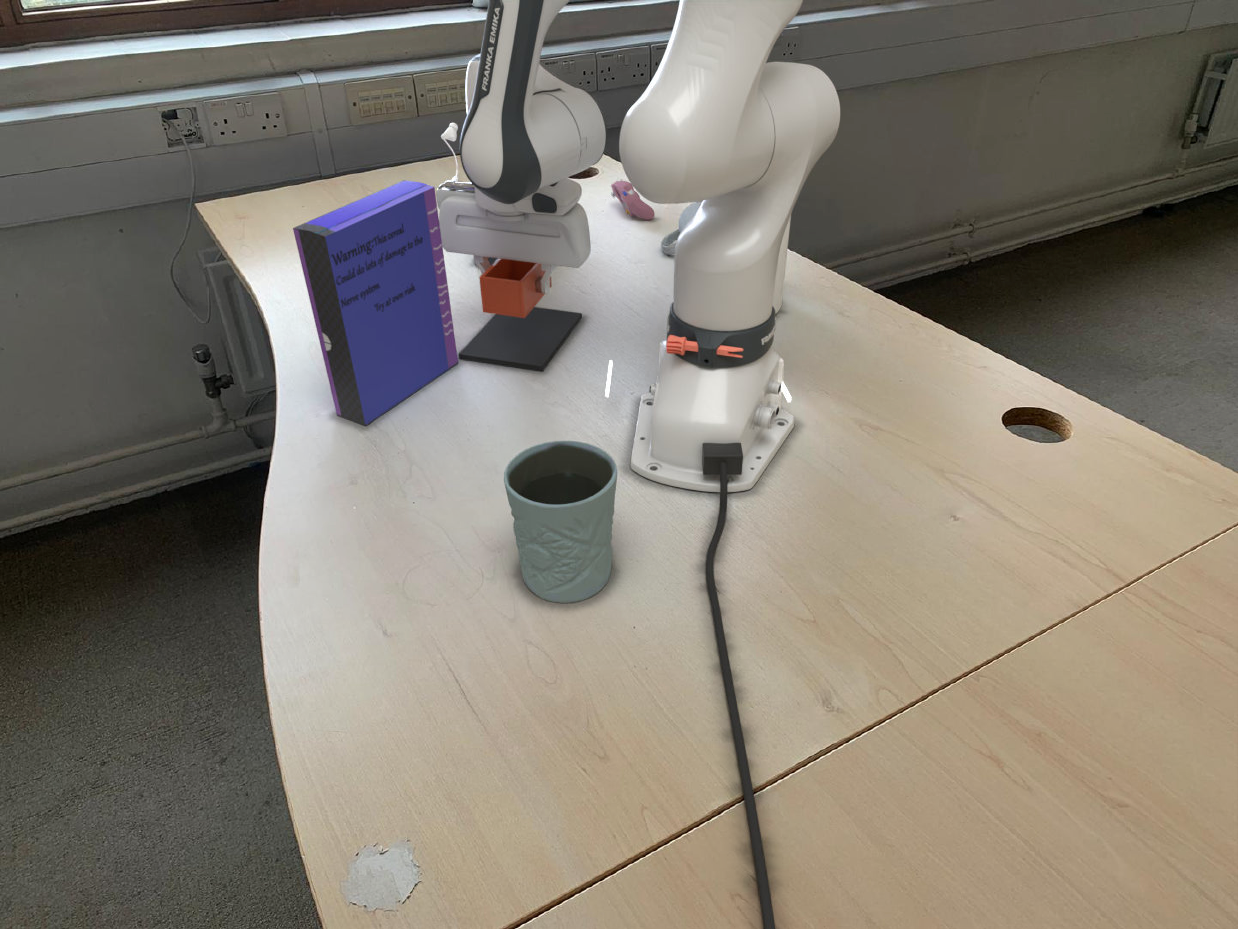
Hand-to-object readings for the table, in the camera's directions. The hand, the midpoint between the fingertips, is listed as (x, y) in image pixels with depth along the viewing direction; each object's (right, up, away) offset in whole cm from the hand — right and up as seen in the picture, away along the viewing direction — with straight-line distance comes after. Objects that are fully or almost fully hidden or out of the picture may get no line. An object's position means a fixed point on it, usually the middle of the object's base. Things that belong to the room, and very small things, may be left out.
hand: (517, 288), depth 121 cm
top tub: (0, -1, +1) cm, 2 cm away
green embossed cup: (+9, -34, -34) cm, 49 cm away
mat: (0, -6, +4) cm, 7 cm away
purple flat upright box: (-14, -14, -6) cm, 21 cm away
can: (+31, -1, +12) cm, 33 cm away
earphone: (-13, +28, +52) cm, 60 cm away
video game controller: (+16, +22, +43) cm, 51 cm away
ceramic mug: (+26, +11, +28) cm, 40 cm away
